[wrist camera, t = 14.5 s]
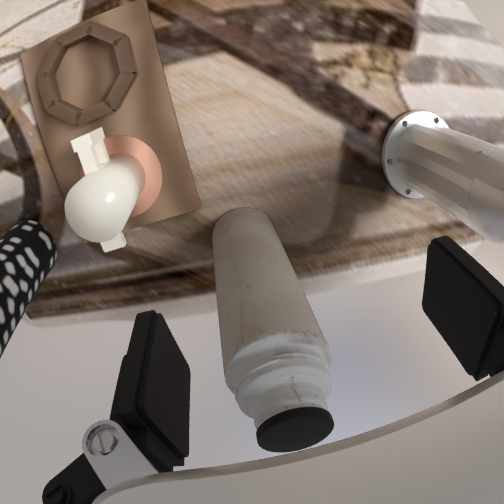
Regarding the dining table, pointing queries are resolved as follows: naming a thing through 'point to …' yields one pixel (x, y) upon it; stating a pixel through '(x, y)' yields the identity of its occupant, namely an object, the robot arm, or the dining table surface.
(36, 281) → the white-spotted black cylinder
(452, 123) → the dining table surface
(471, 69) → the dining table surface
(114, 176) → the white ceramic pitcher
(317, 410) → the thermos bottle
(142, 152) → the holder board
